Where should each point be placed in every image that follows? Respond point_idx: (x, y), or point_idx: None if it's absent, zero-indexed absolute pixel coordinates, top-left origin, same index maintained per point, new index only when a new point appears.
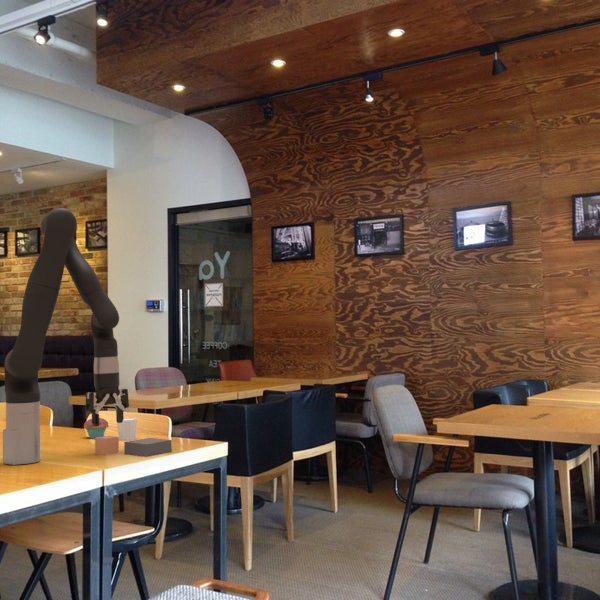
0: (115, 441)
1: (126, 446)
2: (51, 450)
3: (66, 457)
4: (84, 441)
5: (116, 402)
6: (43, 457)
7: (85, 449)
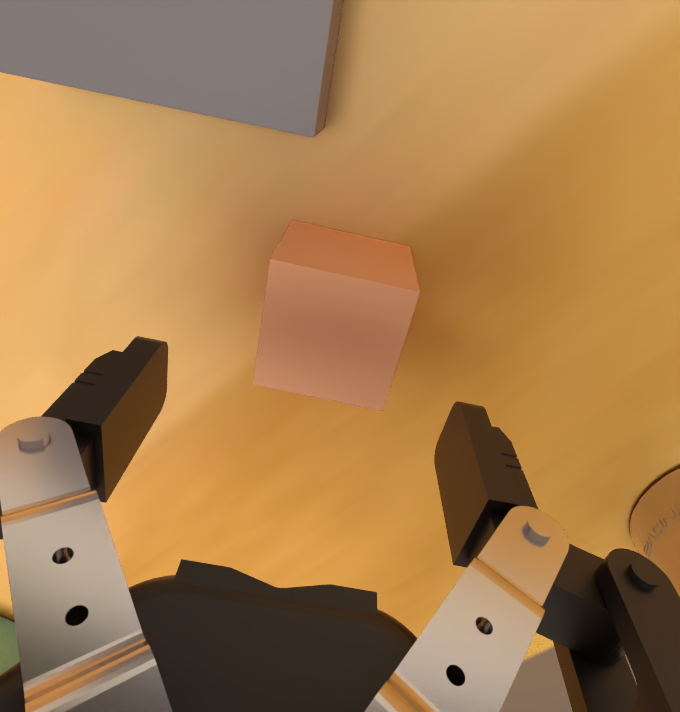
0: (310, 253)
1: (323, 100)
2: None
3: (540, 416)
4: None
5: (114, 562)
6: (556, 516)
7: (272, 488)
